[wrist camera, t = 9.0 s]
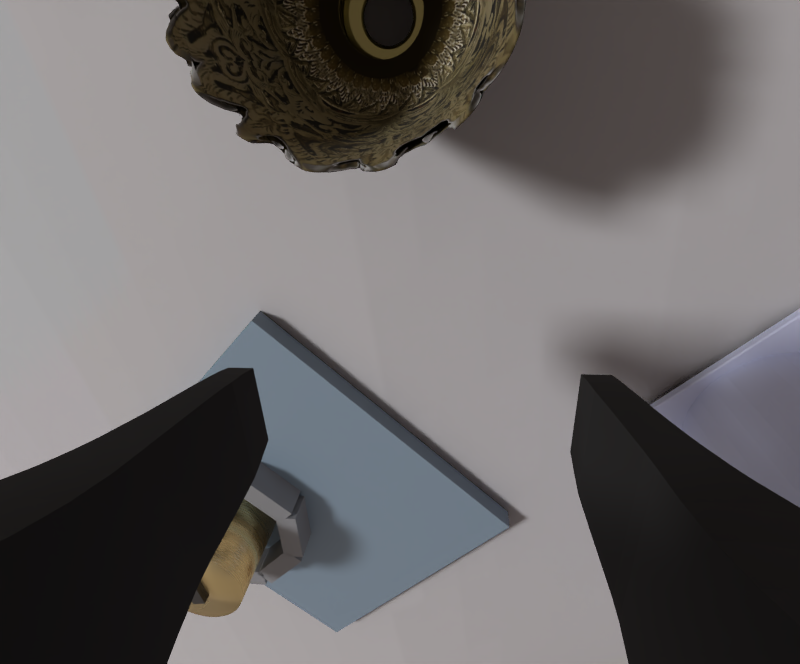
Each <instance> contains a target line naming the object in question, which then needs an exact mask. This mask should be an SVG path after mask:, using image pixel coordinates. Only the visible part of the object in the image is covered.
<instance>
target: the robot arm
mask: <svg viewBox="0 0 800 664" xmlns="http://www.w3.org/2000/svg"><path fill="white" fill-rule="evenodd" d="M268 440H269V439H268V435H267V430H266V425H265V421H264V416H263V411H262V406H261V402H260V397H259V392H258V388H257V383H256V378H255V374H254V369H253V368H226V369H224V370H221V371H219V372H217V373H215V374H213V375H211V376H209V377H208V378H206V379H204V380H202V381H200V382H199V383H197V384H195V385H193V386H191V387H190V388H188V389H186V390H184V391H183V392H181V393H179V394H177V395H176V396H174V397H172V398H170V399H169V400H167V401H165V402H163V403H162V404H160V405H158V406H156V407H155V408H153V409H151V410H149V411H148V412H146V413H144V414H142V415H140V416H138V417H137V418H135V419H133V420H131V421H129V422H127V423H125V424H123V425H121V426H120V427H118V428H116V429H114V430H112V431H110V432H108V433H106V434H104V435H103V436H101V437H99V438H97V439H95V440H93V441H91V442H89V443H86V444H84V445H82V446H80V447H78V448H76V449H74V450H72V451H69V452H67V453H65V454H63V455H60V456H58V457H56V458H54V459H51V460H49V461H47V462H45V463H42V464H40V465H37V466H35V467H33V468H30V469H28V470H25V471H22V472H20V473H17V474H15V475H12V476H9V477H7V478H4V479H1V480H0V664H167V662H168V659H169V657H170V654H171V651H172V649H173V646H174V644H175V641H176V638H177V636H178V633H179V631H180V629H181V626H182V624H183V621H184V619H185V616H186V614H187V612H188V609H189V607H190V604H191V602H192V600H193V597H194V595H195V592H196V590H197V588H198V586H199V583H200V581H201V579H202V577H203V575H204V573H205V571H206V569H207V567H208V565H209V563H210V561H211V559H212V558H213V556H214V554H215V552H216V550H217V548H218V546H219V545H220V543H221V541H222V539H223V537H224V535H225V533H226V532H227V530H228V528H229V526H230V524H231V522H232V520H233V518H234V517H235V515H236V513H237V511H238V509H239V507H240V505H241V503H242V502H243V500H244V498H245V496H246V494H247V492H248V490H249V488H250V486H251V484H252V482H253V480H254V478H255V476H256V473H257V471H258V468H259V465H260V463H261V460H262V457H263V454H264V451H265V449H266V446H267V443H268ZM570 452H571V457H572V463H573V469H574V474H575V479H576V484H577V489H578V494H579V497H580V501H581V504H582V507H583V510H584V513H585V516H586V519H587V522H588V525H589V529H590V532H591V535H592V538H593V541H594V544H595V547H596V550H597V553H598V556H599V559H600V562H601V565H602V568H603V571H604V574H605V577H606V580H607V583H608V586H609V589H610V592H611V595H612V598H613V602H614V605H615V609H616V612H617V616H618V619H619V623H620V627H621V632H622V636H623V641H624V645H625V649H626V654H627V658H628V663H629V664H800V309H798V310H796V311H795V312H793V313H792V314H790V315H789V316H787V317H786V318H784V319H782V320H781V321H779V322H778V323H776V324H775V325H773V326H772V327H770V328H768V329H767V330H765V331H764V332H762V333H761V334H759V335H758V336H756V337H754V338H753V339H751V340H750V341H748V342H747V343H745V344H744V345H742V346H740V347H739V348H737V349H736V350H734V351H733V352H731V353H730V354H728V355H726V356H725V357H723V358H722V359H720V360H719V361H717V362H716V363H714V364H712V365H711V366H709V367H708V368H706V369H705V370H703V371H702V372H700V373H698V374H697V375H695V376H694V377H692V378H691V379H689V380H688V381H686V382H684V383H683V384H681V385H680V386H678V387H677V388H675V389H674V390H672V391H670V392H669V393H667V394H666V395H664V396H663V397H661V398H660V399H658V400H656V401H655V402H653V403H652V404H650V405H649V404H648V403H647V402H645V401H644V400H643V399H642V398H640V397H639V396H638V395H637V394H635V393H634V392H633V391H632V390H631V389H629V388H628V387H627V386H626V385H624V384H623V383H622V382H620V381H619V380H618V379H616V378H615V377H614V376H612V375H581V379H580V387H579V394H578V401H577V408H576V415H575V423H574V430H573V437H572V444H571V451H570Z"/></svg>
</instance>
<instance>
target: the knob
mask: <svg viewBox="0 0 800 664" xmlns="http://www.w3.org/2000/svg"><path fill="white" fill-rule="evenodd" d="M275 524H276V521H275V520H274V519H273V518H271V517H270V516H268V515H267V514H265V513H264V512H263V511H261V510H260V509H258V508H257V507H255V506H254V505H252V504H251V503H250V502H248V501H247V500H245V499H244V500H243V502H242V503H241V505H240V507H239V509H238V511H237V513H236V515H235V517H234V518H233V520H232V522H231V524H230V526H229V528H228V530H227V532H226V533H225V535H224V537H223V539H222V541H221V543H220V545H219V546H218V548H217V550H216V552H215V554H214V556H213V558H212V559H211V561H210V563H209V565H208V567H207V569H206V571H205V573H204V575H203V577H202V579H201V581H200V583H199V586H198V588H197V590H196V592H195V595H194V597H193V600H192V602H191V604H190V607H189V609H188V611H189V612H191V613H194V614H198V615H202V616H209V617H220V616H225V615H228V614H231V613H233V612H234V611H235V610H237V608H238V607H239V606H240V604H241V602H242V599H243V597H244V595H245V593H246V590H247V588H248V586H249V584H250V581H251V579H252V577H253V574H254V572H255V570H256V568H257V565H258V563H259V561H260V559H261V556H262V554H263V552H264V550H265V547H266V545H267V543H268V541H269V538H270V536H271V534H272V532H273V529H274V527H275Z"/></svg>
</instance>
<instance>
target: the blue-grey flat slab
mask: <svg viewBox="0 0 800 664" xmlns="http://www.w3.org/2000/svg"><path fill="white" fill-rule="evenodd" d="M226 368H253V369H254V374H255V378H256V383H257V388H258V392H259V397H260V402H261V406H262V411H263V416H264V421H265V425H266V430H267V435H268V439H269V440H268V443H267V446H266V449H265V451H264V454H263V457H262V460H261V463H260V465H259V468H258V471H257V473H256V476H255V478H254V480H253V482H252V484H251V486H250V488H249V490H248V492H247V494H246V496H245V498H244V499H245V500H247V501H248V502H250V503H251V504H252V505H254V506H255V507H257V508H258V509H260V510H261V511H263V512H264V513H265V514H267V515H268V516H270V517H271V518H273V519H274V520H275V521H276V524H275V527H274V529H273V532H272V534H271V536H270V538H269V541H268V543H267V545H266V547H265V550H264V552H263V554H262V556H261V559H260V561H259V563H258V565H257V568H256V570H255V572H254V574H253V577H252V579H251V581H250V583H251V584H263V585H265V586H267V587H268V588H270V589H272V590H273V591H275V592H276V593H278V594H279V595H281V596H282V597H284V598H285V599H287V600H288V601H290V602H291V603H293V604H295V605H296V606H298V607H299V608H301V609H302V610H304V611H305V612H307V613H308V614H310V615H311V616H313V617H314V618H316V619H318V620H319V621H321V622H322V623H324V624H325V625H327V626H328V627H330V628H331V629H333V630H334V631H336V632H338V631H339V630H341V629H343V628H344V627H346V626H348V625H349V624H351V623H353V622H354V621H356V620H357V619H359V618H361V617H362V616H364V615H366V614H367V613H369V612H371V611H372V610H374V609H376V608H377V607H379V606H380V605H382V604H384V603H385V602H387V601H389V600H390V599H392V598H394V597H395V596H397V595H399V594H400V593H402V592H404V591H405V590H407V589H408V588H410V587H412V586H413V585H415V584H417V583H418V582H420V581H422V580H423V579H425V578H427V577H428V576H430V575H432V574H433V573H435V572H436V571H438V570H440V569H441V568H443V567H445V566H446V565H448V564H450V563H451V562H453V561H455V560H456V559H458V558H459V557H461V556H463V555H464V554H466V553H468V552H469V551H471V550H473V549H474V548H476V547H478V546H479V545H481V544H483V543H484V542H486V541H487V540H489V539H491V538H492V537H494V536H496V535H497V534H499V533H501V532H502V531H504V530H506V529H507V528H509V519H508V511H506V510H505V509H504V508H503V507H501V506H500V505H499V504H498V503H496V502H495V501H494V500H493V499H492V498H490V497H489V496H488V495H487V494H485V493H484V492H483V491H482V490H480V489H479V488H478V487H477V486H476V485H474V484H473V483H472V482H471V481H469V480H468V479H467V478H466V477H464V476H463V475H462V474H461V473H459V472H458V471H457V470H456V469H455V468H453V467H452V466H451V465H450V464H448V463H447V462H446V461H445V460H443V459H442V458H441V457H440V456H439V455H437V454H436V453H435V452H434V451H432V450H431V449H430V448H429V447H427V446H426V445H425V444H424V443H423V442H421V441H420V440H419V439H418V438H416V437H415V436H414V435H413V434H411V433H410V432H409V431H408V430H406V429H405V428H404V427H403V426H402V425H400V424H399V423H398V422H397V421H395V420H394V419H393V418H392V417H390V416H389V415H388V414H387V413H386V412H384V411H383V410H382V409H381V408H379V407H378V406H377V405H376V404H374V403H373V402H372V401H371V400H370V399H368V398H367V397H366V396H365V395H363V394H362V393H361V392H360V391H358V390H357V389H356V388H355V387H353V386H352V385H351V384H350V383H349V382H347V381H346V380H345V379H344V378H342V377H341V376H340V375H339V374H337V373H336V372H335V371H334V370H333V369H331V368H330V367H329V366H328V365H326V364H325V363H324V362H323V361H321V360H320V359H319V358H318V357H316V356H315V355H314V354H313V353H312V352H310V351H309V350H308V349H307V348H305V347H304V346H303V345H302V344H300V343H299V342H298V341H297V340H296V339H294V338H293V337H292V336H291V335H289V334H288V333H287V332H286V331H284V330H283V329H282V328H281V327H280V326H278V325H277V324H276V323H275V322H273V321H272V320H271V319H270V318H268V317H267V316H266V315H265V314H263V313H262V312H261V311H260V312H259V313H258V314H257V315H256V316H255V317H254V319H253V320H252V321H251V322H250V323H249V324H248V325H247V327H246V328H245V329H244V330H243V331H242V332H241V334H240V335H239V336H238V337H237V338H236V339H235V341H234V342H233V343H232V344H231V345H230V346H229V348H228V349H227V350H226V351H225V352H224V353H223V355H222V356H221V357H220V358H219V359H218V360H217V361H216V363H215V364H214V365H213V366H212V367H211V368H210V370H209V371H208V372H207V373H206V374H205V375H204V377H203V378H202V379H201V380H200V381H202V380H204V379H206V378H208V377H209V376H211V375H213V374H215V373H217V372H219V371H221V370H224V369H226ZM200 381H199V382H200ZM199 382H198V383H199Z"/></svg>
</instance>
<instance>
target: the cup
mask: <svg viewBox="0 0 800 664" xmlns="http://www.w3.org/2000/svg"><path fill="white" fill-rule="evenodd" d="M176 1H177V2H178V4H179V6H177V7H176V9H174V10H173V11H172V12H171V13H170V14H169V18H170V23H169V25H168V28H167V31H166V41H167V43H168V45H169V47H170V48H171V49H172V50H173V52H174V53H175V54H176V55H178V56H180V57H182V58H184V59H185V60H186V61H187V64H188V66H191V67H192V69H191V72H190V74H191V78H192V82H191V84H192V87H193V89H194V90H195V92H196V93H197V94H198V95H199V96H201V97H202V98H203V99H205V100H206V101H207V102H209V103H211V104H213V105H215V106H218V107H220V108H222V109H225V110H229V111H233V112H237V113H239V115H240V114H241V115H242V121H241V123H239V125H238V124H236V128H237V132H236V134H237V135H238V136H239V137H241V138H242V139H244V140H246V141H248V142H251V143H270V144H274V145H275V146H276V147H278V148H279V149H281V150H282V152H283V153H284V154H285V157H286V158H287V159H288V160H289V161H290V162H291V163H293V164H294V165H296V166H297V167H299V168H300V169H302V170H305V171H309V172H336V171H342V170H348V169H356V168H360V169H361V170H362V171H369V172H376V171H381V170H385V169H388V168H390V167H392V166H394V165H396V163H397V161H398V159H399V158H400V157H401V156H402V155H403V154H405V153H407V152H409V151H411V150H413V149H415V148H417V147H420V146H423V145H426V144H427V143H429V142H430V141H431V140H432V139H433V138H434V137H436V136H437V135H439V134H440V133H441V132H443V131H444V130H445V129H447V128H451V127H453V128H454V129H456V128H457V127H458V126H460V125H461V124H462V123H463V122H464V121H465V120H466V119H467V118H468V117H469V116H470V115H471V113H472V112H473V111H474V110H475V108H476V107H477V105H478V104H479V102H480V100H481V98H482V95H483V93H484V92H485V90H486V89H487V88H488V86H489V85H490V84H491V83H492V82H493V81H494V80H495V79H496V77H497V76H498V75H499V73H500V72H501V70H502V69H503V67H504V66H505V64H506V63H507V61H508V59H509V57H510V55H511V54H512V52H513V50H514V47H515V45H516V42H517V40H518V37H519V35H520V31H521V27H522V23H523V18H524V11H525V4H526V0H409V1H410V3H411V6H412V10H413V23H412V27H411V30H410V32H409V34H408V35H407V37H406V38H405V39H404V40H403V41H402V42H400V43H399V44H396V45H393V46H384V45H381V44H378V43H377V42H375V41H374V40H373V39H372V38H371V37H370V35H369V34H368V32H367V30H366V27H365V24H364V9H365V6H366V3H367V1H368V0H176Z"/></svg>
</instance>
